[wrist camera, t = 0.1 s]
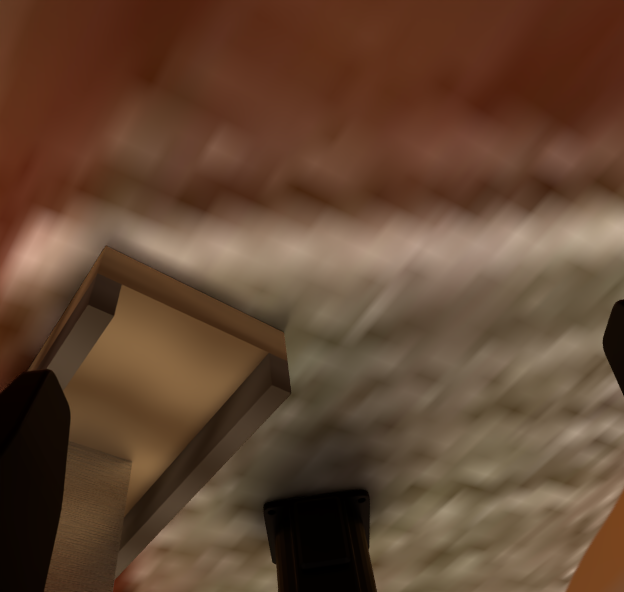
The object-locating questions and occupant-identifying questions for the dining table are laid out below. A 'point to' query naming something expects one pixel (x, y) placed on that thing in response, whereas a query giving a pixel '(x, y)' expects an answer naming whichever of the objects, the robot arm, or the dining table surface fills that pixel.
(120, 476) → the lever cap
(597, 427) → the dining table surface
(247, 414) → the tan piece
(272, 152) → the dining table surface
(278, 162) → the dining table surface
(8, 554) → the robot arm
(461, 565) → the dining table surface
